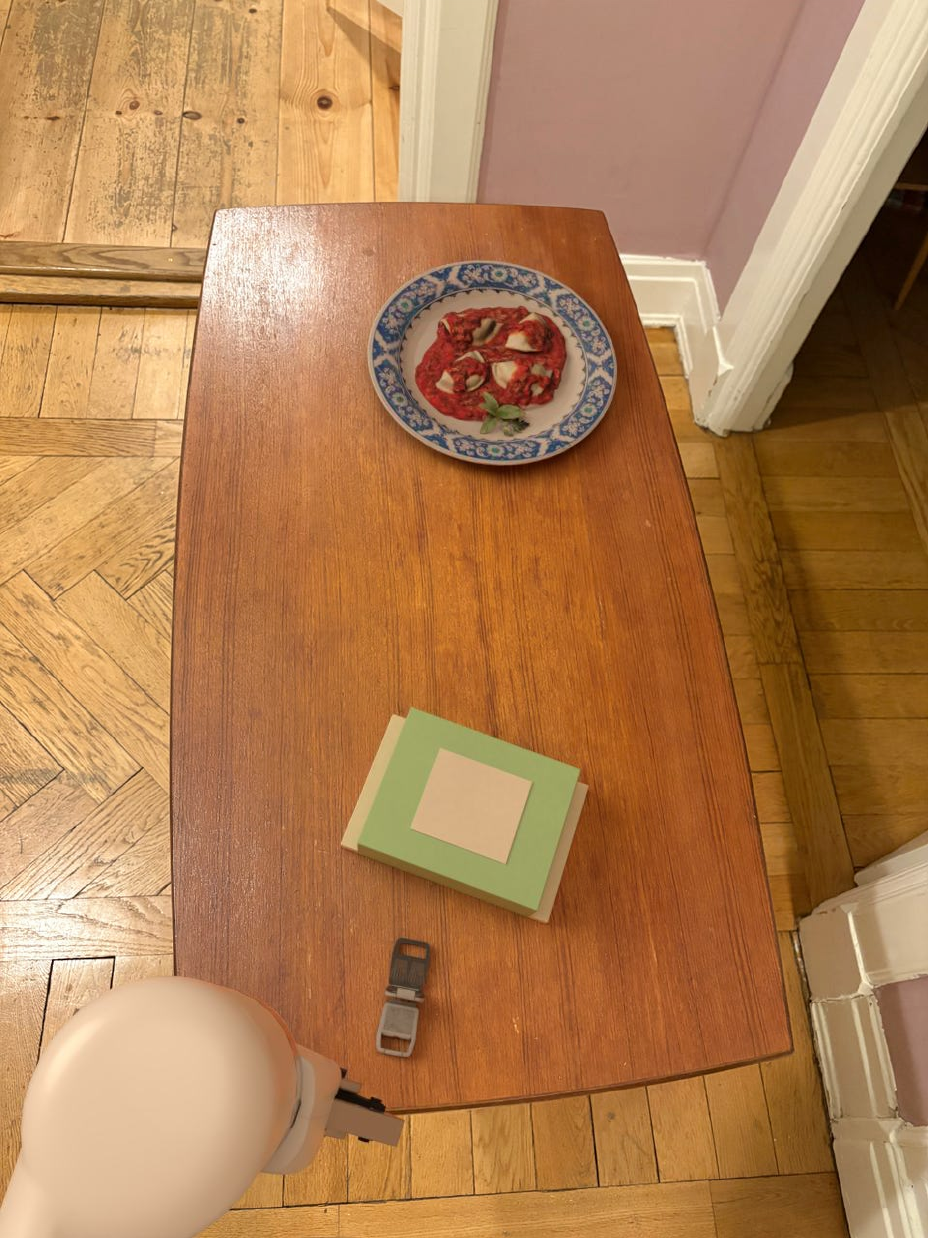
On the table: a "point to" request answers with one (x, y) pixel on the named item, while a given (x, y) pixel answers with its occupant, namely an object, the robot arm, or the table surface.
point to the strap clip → (403, 997)
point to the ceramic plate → (492, 362)
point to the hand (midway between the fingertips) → (252, 1070)
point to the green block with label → (468, 813)
